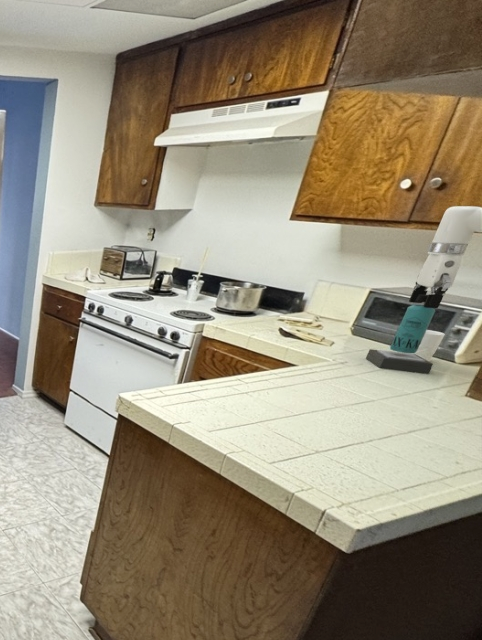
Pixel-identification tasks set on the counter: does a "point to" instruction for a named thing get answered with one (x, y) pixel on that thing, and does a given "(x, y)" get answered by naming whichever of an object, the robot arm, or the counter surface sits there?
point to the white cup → (429, 344)
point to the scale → (398, 363)
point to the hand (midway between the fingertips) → (422, 305)
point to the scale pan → (400, 355)
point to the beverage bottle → (412, 327)
